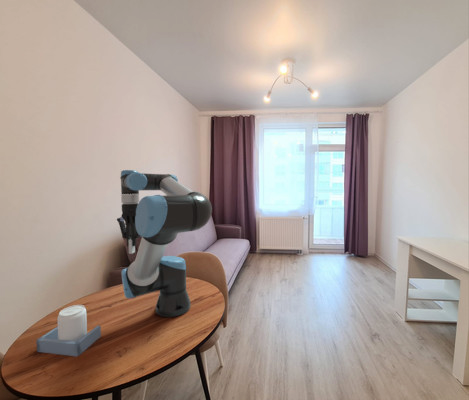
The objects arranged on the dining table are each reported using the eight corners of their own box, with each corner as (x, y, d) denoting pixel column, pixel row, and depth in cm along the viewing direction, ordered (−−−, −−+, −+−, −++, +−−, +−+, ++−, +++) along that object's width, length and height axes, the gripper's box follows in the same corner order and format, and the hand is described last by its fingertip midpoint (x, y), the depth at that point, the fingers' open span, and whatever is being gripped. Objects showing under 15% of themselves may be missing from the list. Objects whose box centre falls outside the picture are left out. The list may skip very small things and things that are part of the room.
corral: (100, 336, 80) (100, 325, 80) (77, 356, 70) (77, 344, 70) (64, 332, 83) (64, 322, 82) (36, 351, 73) (36, 339, 73)
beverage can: (78, 350, 73) (77, 315, 72) (52, 352, 72) (51, 317, 72) (91, 335, 81) (90, 303, 81) (68, 336, 80) (67, 304, 80)
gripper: (147, 202, 106) (148, 250, 107) (122, 203, 107) (123, 250, 108) (139, 203, 98) (141, 255, 99) (112, 203, 100) (113, 254, 100)
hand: (132, 252), depth 104 cm, fingers closed
